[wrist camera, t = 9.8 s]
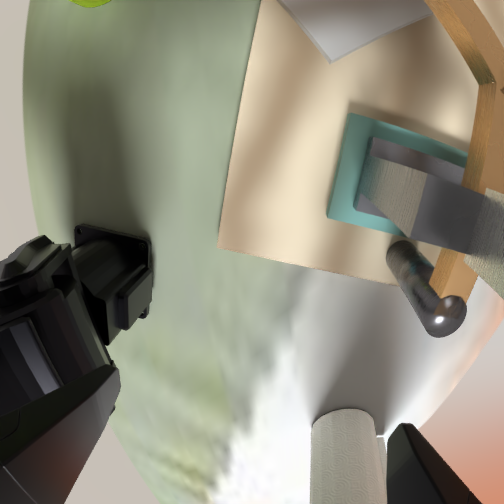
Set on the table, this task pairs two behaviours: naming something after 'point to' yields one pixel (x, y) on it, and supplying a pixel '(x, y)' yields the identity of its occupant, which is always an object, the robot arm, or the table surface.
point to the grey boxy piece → (434, 205)
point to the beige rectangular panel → (340, 125)
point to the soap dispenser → (90, 2)
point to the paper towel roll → (347, 460)
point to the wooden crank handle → (475, 174)
